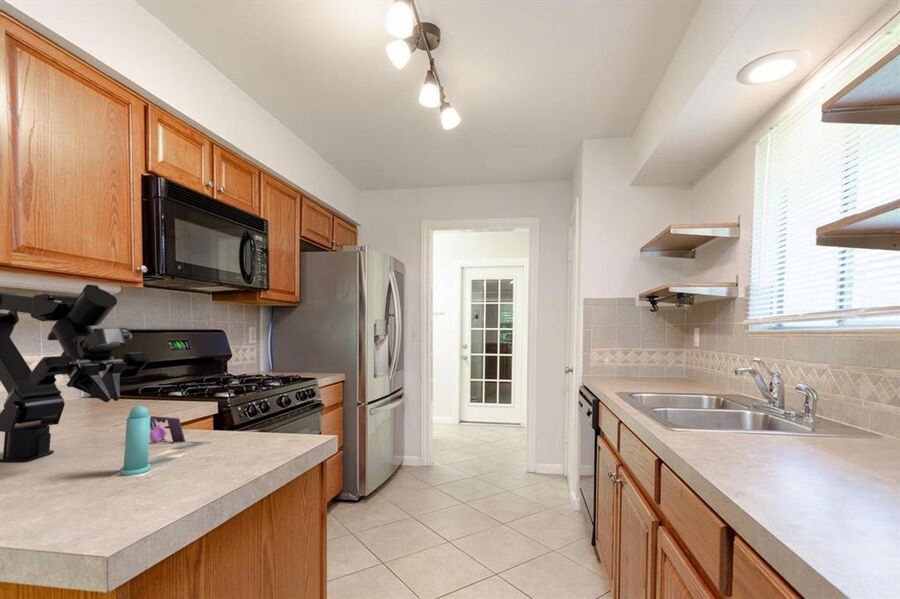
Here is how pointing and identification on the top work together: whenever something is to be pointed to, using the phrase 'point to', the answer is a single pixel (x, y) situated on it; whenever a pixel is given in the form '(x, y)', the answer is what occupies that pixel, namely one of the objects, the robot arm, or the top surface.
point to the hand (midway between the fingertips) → (113, 400)
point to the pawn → (137, 442)
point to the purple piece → (159, 432)
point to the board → (168, 454)
